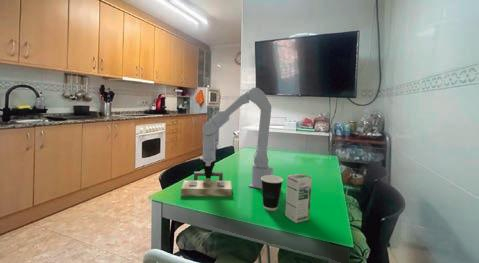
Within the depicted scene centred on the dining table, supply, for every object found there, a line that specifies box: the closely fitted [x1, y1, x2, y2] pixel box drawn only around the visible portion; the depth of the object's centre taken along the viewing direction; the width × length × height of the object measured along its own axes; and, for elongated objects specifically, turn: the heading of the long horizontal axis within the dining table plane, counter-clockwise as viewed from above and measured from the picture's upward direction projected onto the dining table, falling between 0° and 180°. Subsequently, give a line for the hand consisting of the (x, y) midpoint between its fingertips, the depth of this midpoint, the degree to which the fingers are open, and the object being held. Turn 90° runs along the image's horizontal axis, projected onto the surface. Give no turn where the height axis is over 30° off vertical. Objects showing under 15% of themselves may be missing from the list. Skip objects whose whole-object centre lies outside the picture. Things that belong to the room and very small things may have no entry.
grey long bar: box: [193, 171, 224, 181], centre depth 113 cm, size 13×2×4 cm, turn 95°
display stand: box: [180, 178, 233, 197], centre depth 102 cm, size 20×10×5 cm, turn 95°
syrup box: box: [285, 173, 313, 224], centre depth 81 cm, size 6×6×14 cm
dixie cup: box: [261, 174, 284, 212], centre depth 89 cm, size 8×8×11 cm
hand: (208, 177), depth 113 cm, fingers closed on grey long bar, 2 cm apart
